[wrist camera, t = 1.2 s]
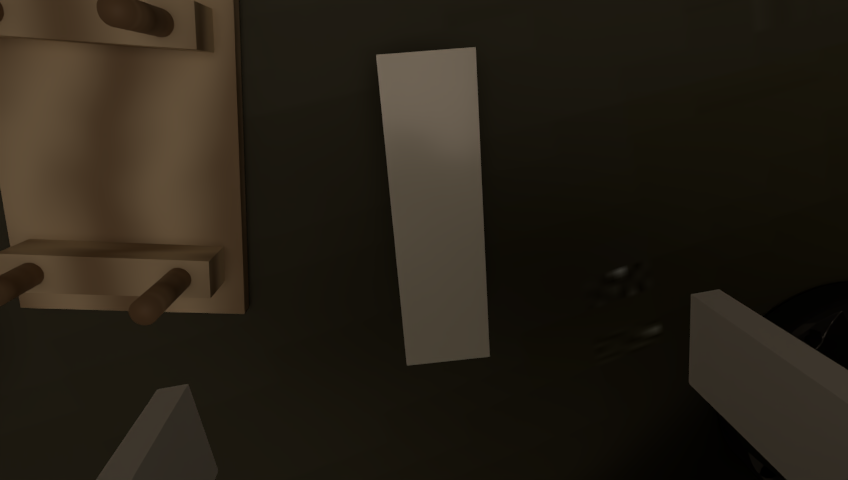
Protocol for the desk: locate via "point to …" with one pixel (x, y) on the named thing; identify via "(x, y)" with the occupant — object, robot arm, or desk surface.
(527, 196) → the desk surface
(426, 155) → the grey rectangular block
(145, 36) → the rack
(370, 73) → the desk surface
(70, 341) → the desk surface
